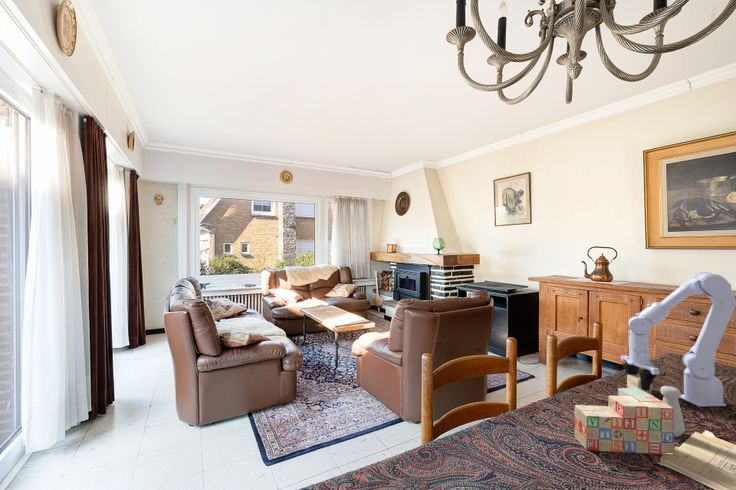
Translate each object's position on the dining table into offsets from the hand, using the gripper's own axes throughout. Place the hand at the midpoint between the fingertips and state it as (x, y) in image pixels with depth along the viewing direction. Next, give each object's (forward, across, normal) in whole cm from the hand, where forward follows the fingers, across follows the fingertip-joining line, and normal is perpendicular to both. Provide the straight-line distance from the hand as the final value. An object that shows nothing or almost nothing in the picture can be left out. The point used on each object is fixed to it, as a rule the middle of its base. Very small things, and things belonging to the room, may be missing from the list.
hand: (639, 386), depth 123 cm
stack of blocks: (+2, +32, -32) cm, 46 cm away
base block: (+1, +8, -8) cm, 11 cm away
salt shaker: (+2, +27, -14) cm, 30 cm away
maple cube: (+1, 0, 0) cm, 1 cm away
